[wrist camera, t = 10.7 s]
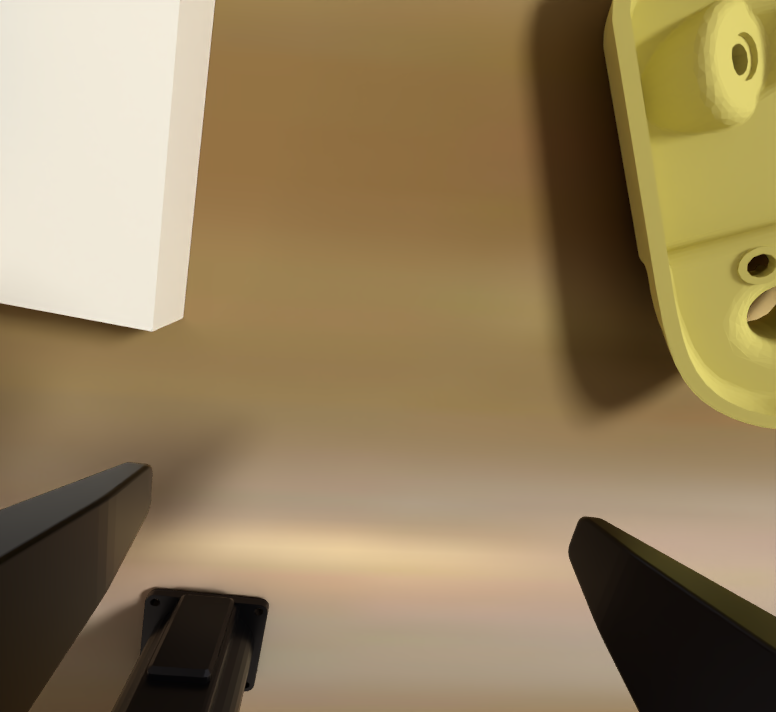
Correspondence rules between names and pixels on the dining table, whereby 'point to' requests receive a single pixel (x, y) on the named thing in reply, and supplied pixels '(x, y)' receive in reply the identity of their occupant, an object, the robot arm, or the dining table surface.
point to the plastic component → (703, 183)
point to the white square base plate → (100, 155)
